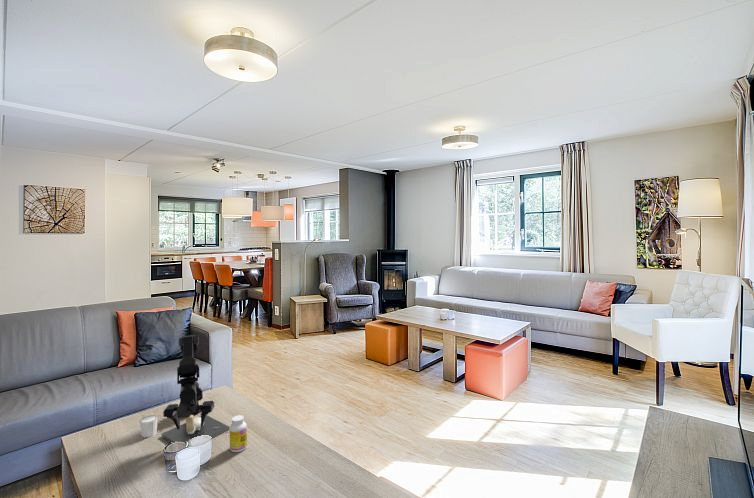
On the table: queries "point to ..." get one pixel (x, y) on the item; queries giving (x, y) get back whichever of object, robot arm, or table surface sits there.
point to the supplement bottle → (238, 434)
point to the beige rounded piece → (193, 424)
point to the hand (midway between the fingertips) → (190, 428)
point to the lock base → (203, 431)
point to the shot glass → (148, 426)
